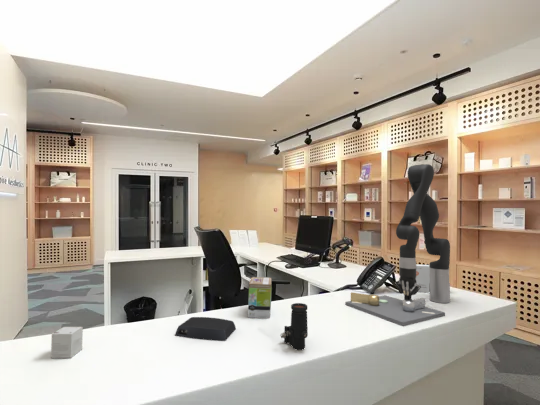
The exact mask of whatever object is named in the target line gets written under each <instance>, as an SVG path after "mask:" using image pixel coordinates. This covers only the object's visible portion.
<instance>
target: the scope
mask: <svg viewBox="0 0 540 405" xmlns="http://www.w3.org/2000/svg"><path fill="white" fill-rule="evenodd" d="M290 308H291V313H290V314H291V315H290V316H291V317H290V325H284V328H283V330H284V331H283V332H281V335H280V338H281V339H284V340H283V342H284V343H285V345H286V344H287V343H288V344H289V345H290V346H291V345H292V346H291V347H292V349H293V350H295V349H297V350H296V351H303V350H305V349H304V348H306V339H307V338H308V335H309V334H308V311H307V310H308V304H306V303H302V302H295V303H292V304H291V305H290ZM288 344H287V345H288ZM302 349H303V350H302Z"/></svg>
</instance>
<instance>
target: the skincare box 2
mask: <svg viewBox="0 0 540 405" xmlns="http://www.w3.org/2000/svg"><path fill="white" fill-rule="evenodd" d="M429 268H430V267H429V264H418V263H416V281H417V284H418V285H419V286H421V288H420V289H419V291H418V292H417V293H427V292H430V272H429ZM413 289H414V287H413Z"/></svg>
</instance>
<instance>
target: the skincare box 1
mask: <svg viewBox="0 0 540 405" xmlns="http://www.w3.org/2000/svg"><path fill="white" fill-rule="evenodd" d="M83 329H84V328H83V326H62V327H61V328H60V329H58V330H56V331H54V332H52V333H51V346H50V348H51V349H50V351H51V352H50V359H72V358H73V357H74V356H75V355H77V354H78V353H79V352H81V351H82V350H83V331H84V330H83Z"/></svg>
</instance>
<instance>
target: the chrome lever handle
mask: <svg viewBox="0 0 540 405" xmlns="http://www.w3.org/2000/svg"><path fill="white" fill-rule="evenodd" d="M402 300H403V310H404V311H408V312H414V311H415V310H416V309H420V308H425V307H426V298H423V297H421V298H415V299H411V300H404V299H402Z"/></svg>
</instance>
